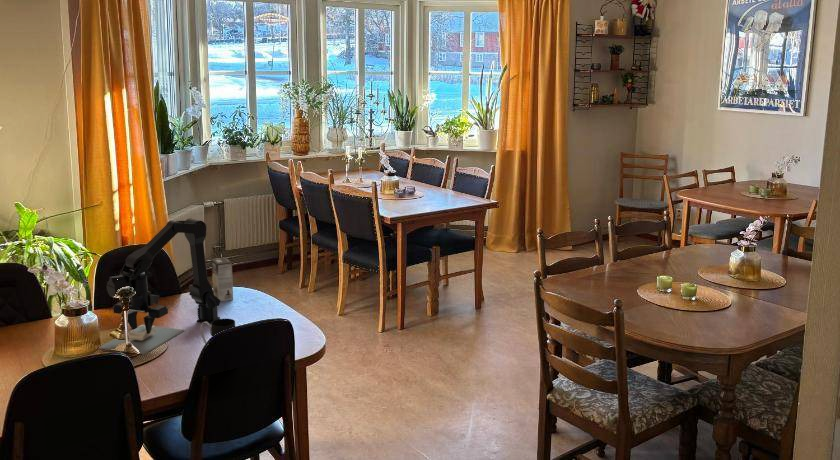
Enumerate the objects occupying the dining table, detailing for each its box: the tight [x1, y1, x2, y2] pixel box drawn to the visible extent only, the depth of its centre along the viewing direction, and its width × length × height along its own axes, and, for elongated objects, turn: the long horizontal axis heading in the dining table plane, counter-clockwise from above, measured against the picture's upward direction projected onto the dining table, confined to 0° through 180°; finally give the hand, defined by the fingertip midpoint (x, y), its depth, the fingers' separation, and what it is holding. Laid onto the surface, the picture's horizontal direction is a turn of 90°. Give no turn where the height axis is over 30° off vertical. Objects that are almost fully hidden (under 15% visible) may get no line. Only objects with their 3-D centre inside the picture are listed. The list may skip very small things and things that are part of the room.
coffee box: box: [210, 256, 234, 302], centre depth 319 cm, size 9×6×16 cm
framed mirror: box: [128, 324, 156, 340], centre depth 273 cm, size 8×5×3 cm, turn 165°
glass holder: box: [199, 318, 236, 345], centre depth 252 cm, size 9×14×15 cm, turn 61°
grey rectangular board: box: [98, 324, 185, 356], centre depth 274 cm, size 18×24×1 cm
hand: (142, 332), depth 273 cm, fingers closed on framed mirror, 5 cm apart
